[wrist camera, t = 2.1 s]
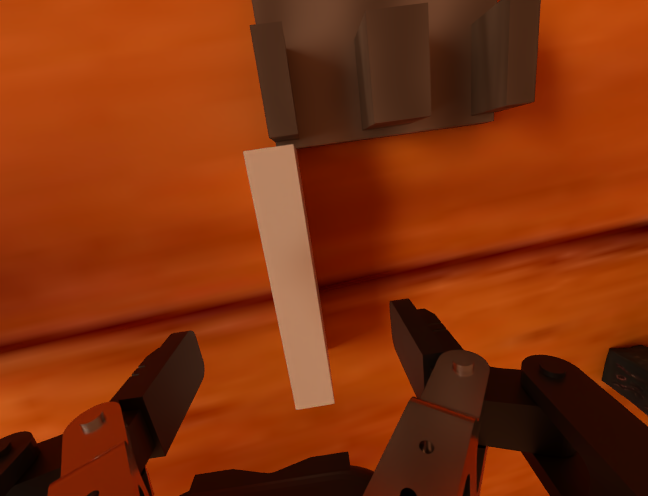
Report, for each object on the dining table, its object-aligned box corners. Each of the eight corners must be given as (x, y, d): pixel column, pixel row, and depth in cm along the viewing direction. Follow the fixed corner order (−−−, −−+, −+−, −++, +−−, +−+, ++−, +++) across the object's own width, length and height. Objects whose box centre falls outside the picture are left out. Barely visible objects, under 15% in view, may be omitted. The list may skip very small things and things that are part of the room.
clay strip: (298, 352, 25) (296, 409, 19) (260, 154, 21) (242, 151, 15) (327, 348, 25) (334, 403, 19) (296, 149, 21) (293, 144, 15)
